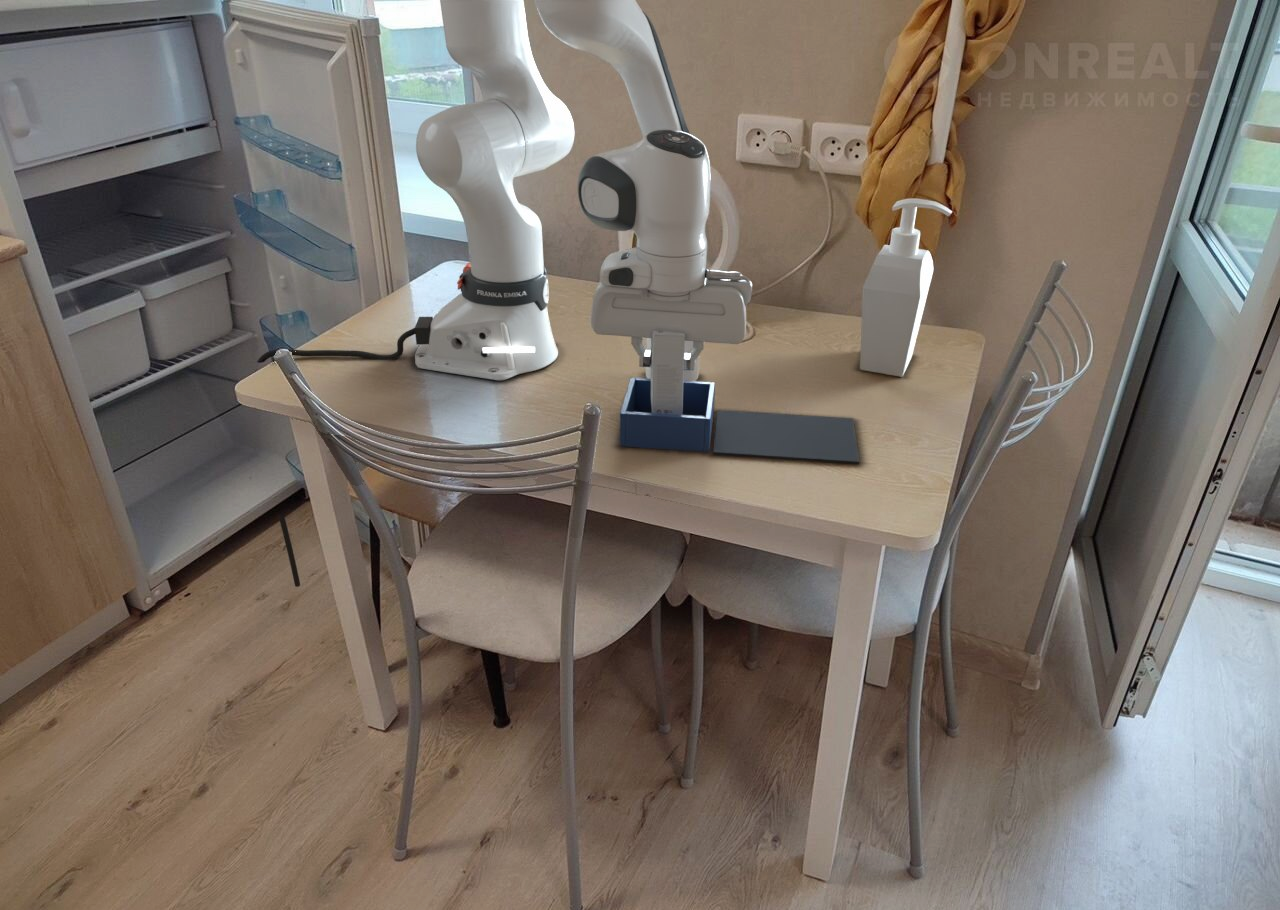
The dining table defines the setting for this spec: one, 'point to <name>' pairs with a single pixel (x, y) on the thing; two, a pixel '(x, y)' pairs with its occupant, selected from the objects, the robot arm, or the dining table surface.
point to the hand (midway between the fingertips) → (666, 366)
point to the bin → (667, 418)
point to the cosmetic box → (667, 372)
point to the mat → (785, 437)
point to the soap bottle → (896, 295)
